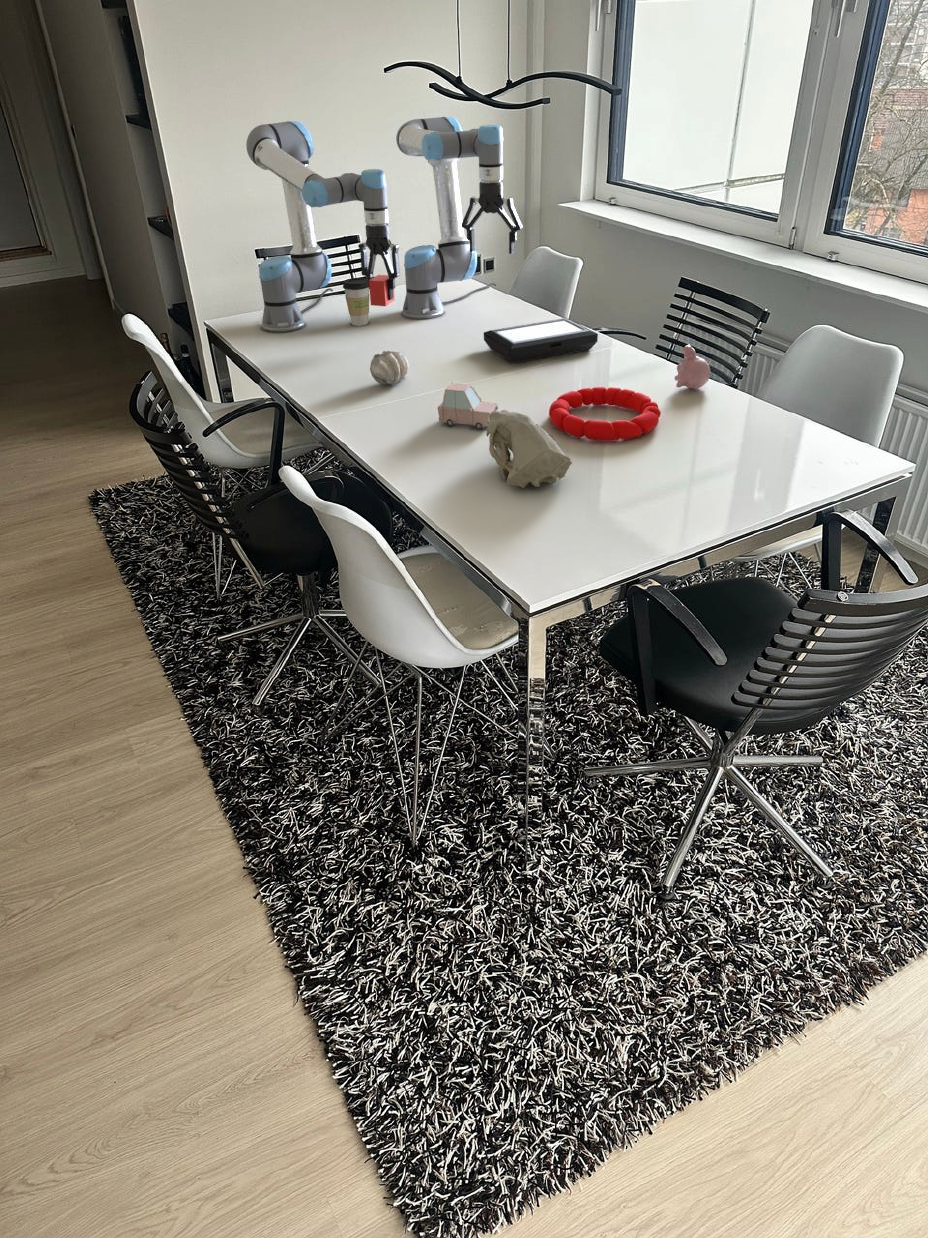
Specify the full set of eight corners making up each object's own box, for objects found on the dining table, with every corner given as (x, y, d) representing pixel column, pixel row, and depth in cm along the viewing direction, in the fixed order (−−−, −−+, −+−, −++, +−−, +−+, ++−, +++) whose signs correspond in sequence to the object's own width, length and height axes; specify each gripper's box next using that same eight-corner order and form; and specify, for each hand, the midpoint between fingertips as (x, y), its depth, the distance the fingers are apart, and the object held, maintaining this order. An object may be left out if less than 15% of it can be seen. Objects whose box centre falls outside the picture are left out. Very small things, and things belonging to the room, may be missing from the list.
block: (370, 305, 296) (368, 280, 292) (380, 299, 302) (378, 274, 298) (385, 306, 295) (383, 281, 290) (394, 300, 301) (393, 275, 296)
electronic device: (510, 346, 280) (483, 329, 295) (510, 365, 283) (483, 348, 299) (598, 331, 290) (567, 315, 305) (597, 350, 294) (567, 334, 309)
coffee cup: (372, 326, 323) (368, 283, 314) (345, 327, 323) (340, 284, 315) (374, 318, 331) (371, 276, 322) (348, 319, 331) (344, 277, 323)
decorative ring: (589, 435, 224) (684, 402, 234) (527, 398, 247) (617, 369, 256) (589, 461, 229) (683, 427, 238) (529, 422, 251) (617, 393, 260)
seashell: (362, 383, 274) (359, 351, 268) (406, 374, 280) (403, 342, 274) (376, 393, 267) (373, 360, 261) (420, 383, 272) (418, 351, 267)
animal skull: (496, 517, 219) (521, 479, 201) (463, 429, 225) (484, 384, 207) (557, 503, 225) (586, 465, 206) (523, 417, 231) (549, 373, 212)
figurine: (665, 387, 264) (669, 347, 257) (693, 380, 268) (698, 340, 261) (686, 396, 257) (690, 355, 250) (714, 388, 262) (720, 348, 255)
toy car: (488, 432, 240) (488, 396, 234) (436, 426, 244) (434, 390, 239) (499, 419, 247) (499, 384, 241) (448, 413, 252) (447, 379, 246)
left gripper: (345, 224, 284) (352, 299, 298) (398, 227, 279) (403, 303, 292) (355, 220, 290) (362, 293, 303) (408, 222, 285) (412, 297, 298)
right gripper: (450, 181, 283) (452, 252, 295) (525, 183, 275) (524, 256, 287) (457, 177, 288) (460, 247, 300) (532, 179, 281) (531, 250, 293)
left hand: (382, 297), depth 298 cm, fingers closed on block, 5 cm apart
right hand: (491, 251), depth 294 cm, fingers open, 13 cm apart
